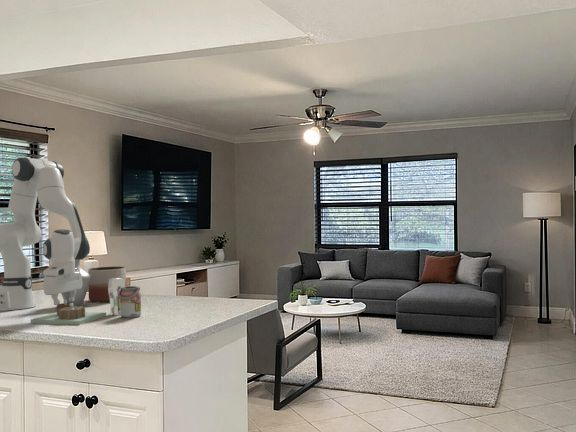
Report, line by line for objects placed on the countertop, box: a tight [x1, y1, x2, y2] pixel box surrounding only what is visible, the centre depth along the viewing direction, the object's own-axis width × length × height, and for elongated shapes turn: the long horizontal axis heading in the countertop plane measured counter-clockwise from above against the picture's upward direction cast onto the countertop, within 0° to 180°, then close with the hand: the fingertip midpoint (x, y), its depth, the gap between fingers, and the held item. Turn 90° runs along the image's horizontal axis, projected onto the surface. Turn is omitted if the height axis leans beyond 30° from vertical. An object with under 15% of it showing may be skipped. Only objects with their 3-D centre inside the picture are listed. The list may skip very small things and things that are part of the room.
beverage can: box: [118, 285, 142, 319], centre depth 231 cm, size 9×8×12 cm
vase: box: [60, 260, 90, 307], centre depth 263 cm, size 14×14×25 cm
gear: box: [56, 302, 70, 315], centre depth 232 cm, size 6×6×4 cm
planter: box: [87, 265, 127, 303], centre depth 279 cm, size 18×18×16 cm
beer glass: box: [108, 278, 125, 316], centre depth 238 cm, size 7×7×15 cm
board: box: [30, 300, 107, 326], centre depth 228 cm, size 22×18×7 cm
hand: (64, 303), depth 232 cm, fingers open, 8 cm apart
